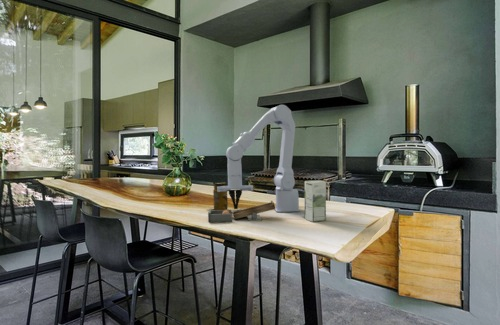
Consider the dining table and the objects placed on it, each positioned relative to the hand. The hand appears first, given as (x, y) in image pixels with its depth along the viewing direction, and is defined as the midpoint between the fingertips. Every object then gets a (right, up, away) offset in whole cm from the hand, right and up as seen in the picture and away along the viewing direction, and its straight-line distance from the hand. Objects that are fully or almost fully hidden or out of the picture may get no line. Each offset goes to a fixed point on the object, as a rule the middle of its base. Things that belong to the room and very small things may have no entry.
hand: (235, 208), depth 130 cm
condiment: (-8, -2, +8) cm, 12 cm away
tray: (-6, -3, -9) cm, 11 cm away
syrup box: (+30, -3, -13) cm, 33 cm away
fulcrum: (+7, -3, -7) cm, 11 cm away
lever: (+7, 0, -4) cm, 8 cm away
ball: (-3, -1, -8) cm, 9 cm away
